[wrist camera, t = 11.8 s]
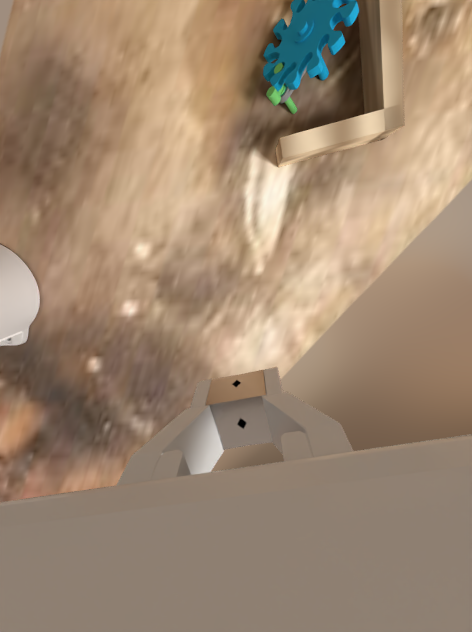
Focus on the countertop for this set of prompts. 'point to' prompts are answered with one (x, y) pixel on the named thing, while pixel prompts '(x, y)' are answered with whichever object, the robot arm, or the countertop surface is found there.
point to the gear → (305, 45)
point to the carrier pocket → (378, 90)
